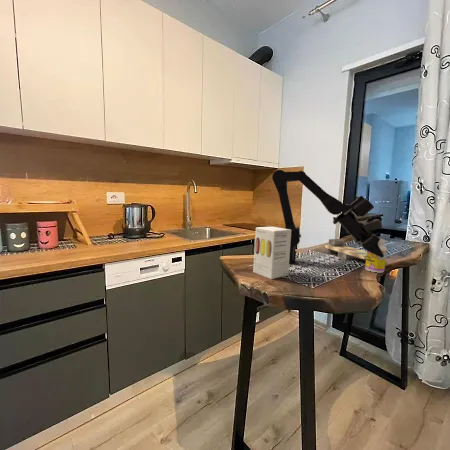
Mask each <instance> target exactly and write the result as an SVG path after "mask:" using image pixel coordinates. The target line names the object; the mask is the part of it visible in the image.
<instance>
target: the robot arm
mask: <svg viewBox="0 0 450 450" xmlns="http://www.w3.org/2000/svg"><path fill="white" fill-rule="evenodd" d="M271 177H272V182H273V184H274V185H275V186H274V187H275V188H276V191H277V194H278V197H279V201H280V202H279V203H280V207H281V211H282V215H283V221H284V224H285V225H284V226H285V228H284V229H290V230H291V242H290V257H289V265H291V264H292V265H293V264H297V258H296V257H297V251H296V248H295V246H297V245H299V243H300V242H301V241H300V240H301V239H300V238H302V234H301V232H300V226H299V225H298V226H297V225H296V224H295V222H294V217H293V212H292V208H291V203H290V202H291V201H290V196H289V193H288V183H291V182H299V183H300V184H302V185H303V186H304V187H305V188H306V189H307V190H308V191H309V192H310V193H312V195H314V196H315V197H316V198H317V199H318V200H319V201H320V202H321V204H322V205H323V206H324V208H325V210H327V212H328V213H329V214H331V215H333V216H332V224H334V225H336V224H338V223H339V224H340V225H341V226H342V227H343V228H344V229H345V231H346V232H347V234H349V235H350V236H351V237H352V240H353V241H354V242H355V243H356V244H357V245H359V246H361V247H362V249H364V251H369V252H371V253H373V254H375V255H377V256H379V257H381V258H382V257H384V255H383V253H382V251H381V249H380V248H379V246H378V242H379V241H380V239H381V238H379V236H378V235H376V234H374V233H372V232H373V231H375V230H378V229H382V228H383V227H384V226H383V225H382V222H381V220H380V219H378V218H374V219H373V218H372V217H369V218H366V219H365V220H366V221H365V222H364V223H363V222H361V221H359V220H358V219H357V218H358V217H360V218H363V217H364V216H366V214H368V213H370V211H372V210H373V209H374V208H375V206H374V205H373V204H372V202H370V201H368V200H367V199H366V198H365V197H364V196H363V195H359V196H358V197H357V198H356V199H355V200H354V201H352V202H351V203H350V204H348V203H346V204H344V203H343V201H340V200H339V199H337V198H335V197H334V196H333V195H331V194H329V193H327V192H326V191H325V190H324V189H323V188H322V187H320V185H318V183H316V182H315V181H314V180H313V179H312V178H311V177H310V176H309V175H307V174H306V172H305V171H304V170H299V171H284V170H281V169H276V170H275V171H274V172H273V173H272V176H271ZM334 215H335V216H336V215H337V216H336V217H335V216H334Z"/></svg>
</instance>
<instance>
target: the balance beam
mask: <svg viewBox="0 0 450 450" xmlns="http://www.w3.org/2000/svg"><path fill="white" fill-rule="evenodd" d="M344 243H345V240H344V239H339V238H332V239H331V238H330V239H328V244H325V246H324V247H325V249H327V253H328V254H337V258H338V259H339V258H340V259H342V260H345V261H348V260H359V259H361V260H362V259H363V260H366V255H367V250H363V249H362V250H361V249H359V248H354V247H350V246H347V245H344Z"/></svg>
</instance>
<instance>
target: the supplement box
mask: <svg viewBox="0 0 450 450" xmlns="http://www.w3.org/2000/svg"><path fill="white" fill-rule="evenodd" d="M254 235H255V236H254V248H253V249H254V251H253V267H252V268H253V273H255V274H257V275H259V276H262V277H263V278H264V277H265V278H268V279H270V280H273V279H277V278H281V277H285V276H289V269H290V267H289V266H290V264H289V257H290V242H291V230H290V229H285V228H282V227H277V226H260V227H258V226H257V227H255V234H254Z"/></svg>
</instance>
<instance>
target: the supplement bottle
mask: <svg viewBox="0 0 450 450" xmlns="http://www.w3.org/2000/svg"><path fill="white" fill-rule="evenodd" d="M385 242H386V240H385V238H380V241H379V242H378V246H379V248H380V249H381V251H382V253H383V255H384V257H382V258H381V257H379V256H377V255H375V254H373V253H371V252H369V251H367V250H366V251H367V255H366V259H365V266H364V267H365V268H364V270H366V271H368V272H370V271H371V272H370V273H374V272H377V273H376V274H383V273H384V272H385V269H386V259H387V251H388V248H387V246H385Z"/></svg>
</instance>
